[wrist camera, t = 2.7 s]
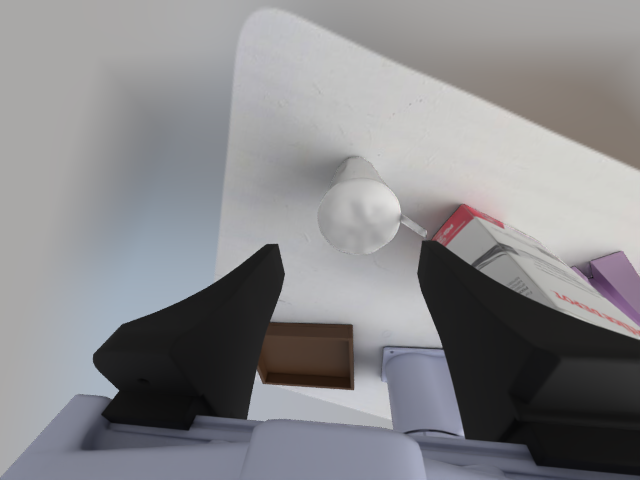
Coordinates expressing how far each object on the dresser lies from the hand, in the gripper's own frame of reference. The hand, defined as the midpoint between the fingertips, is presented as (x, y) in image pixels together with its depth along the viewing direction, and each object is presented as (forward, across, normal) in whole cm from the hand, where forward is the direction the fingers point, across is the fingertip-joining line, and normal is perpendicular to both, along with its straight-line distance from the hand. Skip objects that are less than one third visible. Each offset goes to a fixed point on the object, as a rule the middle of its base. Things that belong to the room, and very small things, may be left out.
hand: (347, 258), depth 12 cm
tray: (+10, +7, +24) cm, 27 cm away
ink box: (+10, -12, +6) cm, 17 cm away
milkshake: (+10, -1, -1) cm, 10 cm away
